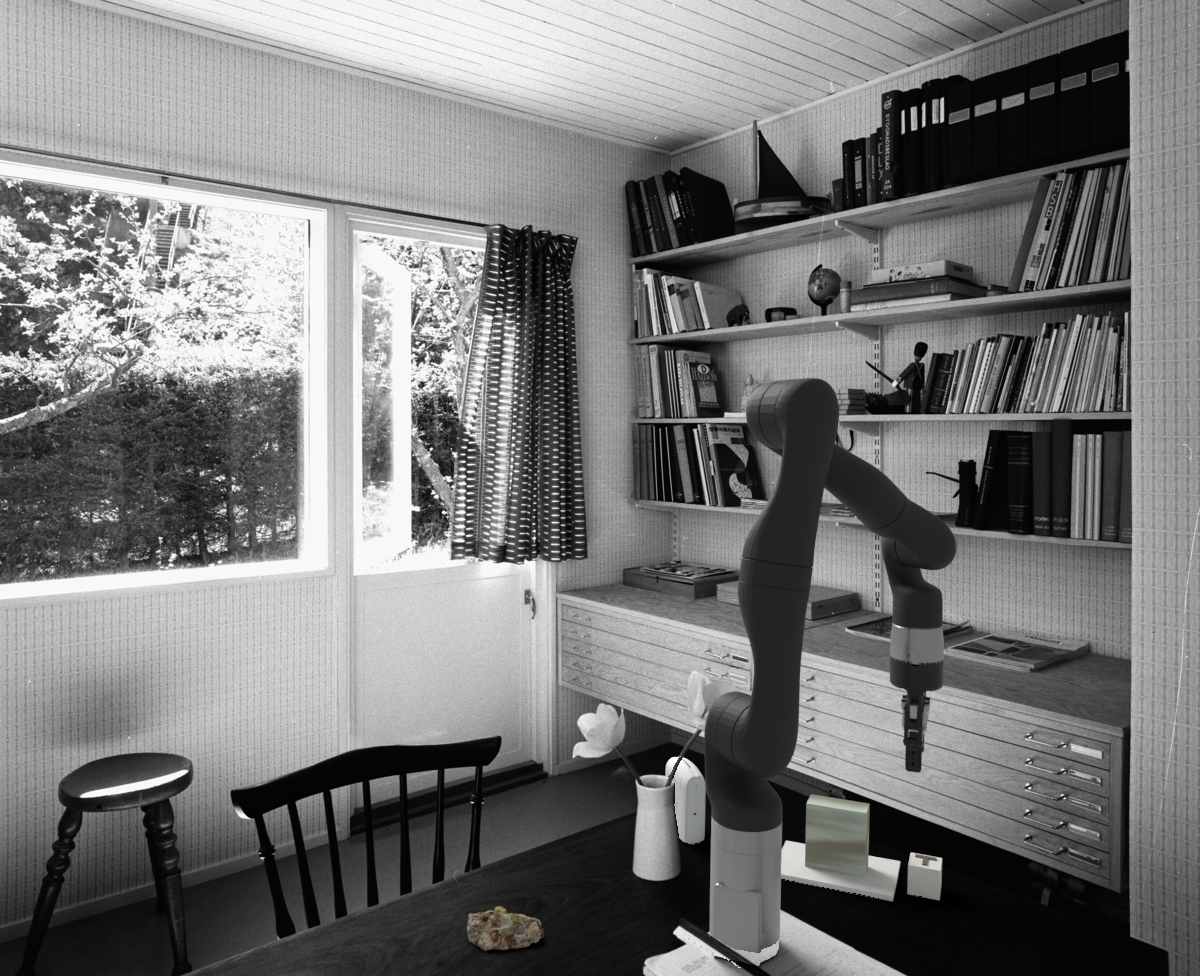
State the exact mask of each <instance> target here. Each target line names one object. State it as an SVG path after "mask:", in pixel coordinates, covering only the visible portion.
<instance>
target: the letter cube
mask: <svg viewBox="0 0 1200 976" xmlns="http://www.w3.org/2000/svg"><path fill="white" fill-rule="evenodd" d="M942 874H943V857H938V856H932V855H927V854H921V853H916V852H910V854H909V860H908V864H907V892H906V894H907V895H909V896H914V895H915V896H914V897H919V896H922V897H921V898H926V899H930V900H936V901H941V900H940V899H941V892H942Z"/></svg>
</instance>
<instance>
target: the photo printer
mask: <svg viewBox="0 0 1200 976" xmlns="http://www.w3.org/2000/svg"><path fill="white" fill-rule="evenodd" d="M679 757H680V756H677V757H676V756H673V757H670V759H668V761H667V762H666V765H665V778H666V777H668V776H669V775H670V774H671V772H672V770H673V767H674V765H675V763H676V762H677V760H678V758H679ZM682 757H683V756H682ZM673 780H674V783H675V804H674V806H675V814H676V820H677V826H678V833H679V837H678V838H679V839H680V840H681V841H682V842H684V843H686V844H687V843H688V844H689V845H696V844H695V843H698V844H700V843H702V842H701V841H704V840H705V836H706V835H705V834H706V833H705V832H706V829H705V827H706V794H707V791H706V782H705V777H704V776H703V774H702V773H701V771H700V770H699V768H698V767H697V766H696V765H695V764H694V762H693V761H690V760H689V759H688V758H685V757H683V758H682V760H681V761H680V763H679V765H678V767H677V770H676V772H675V775H674V778H673ZM699 842H700V843H699ZM688 844H687V845H688Z"/></svg>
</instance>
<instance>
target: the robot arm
mask: <svg viewBox="0 0 1200 976" xmlns="http://www.w3.org/2000/svg"><path fill="white" fill-rule="evenodd" d="M839 405H840V403H839V400H838V396H837V394H836V392H835V390H834V388H833V386H832V385H831V384H830V383H829V382H827V381H826V380H824V379H821V378H818V377H817V378H815V377H813V378H812V377H811V378H810V377H808V378H807V377H806V378H805V377H804V378H794V379H783V380H782V379H780V380H774V381H771V382H766V383H764V384H761V385H760V386H758V387H756V389H754V391H753V392H752V393H751V394H750V396H749V398H748V401H747V403H746V409H745V418H746V424H747V427H748V429H749V431H750V432H751V434H752V436H753V437H754V438H755V439H756V440H757V441H758V442H759V443H760V444H761V445H763V446H764V447H765V448H768V449H769V450H770V451H772V452H773V453H775V454H777V455H778V456H780V457H781V461H780V462H781V463H780V467H779V472H778V473H779V474H778V478H777V481H776V485H775V486H774V490H773V492H772V493H771V496H770V497H769V499H768V501H767V503H766V504H765V506H764V507H763V509H762V510H761V511H760V514H759V515H758V517H756V518H757V519H755V521H754V523H753V525H752V526H751V529H750V530H749V533H748V534H747V537H746V538H745V541H744V545H743V548H742V553H741V554H742V555H741V560H740V567H739V568H740V569H739V574H738V575H739V576H738V583H737V584H738V585H737V599H738V600H737V601H738V605H739V610H740V614H741V618H742V621H743V624H744V627H745V631H746V634H747V638H748V641H749V644H750V649H751V652H752V659H753V661H752V662H753V678H752V679H753V681H752V688H751V689H752V690H751V694H748V693H746V692H743V691H742V692H741V691H734V690H733V691H729V692H726V693H723V694H721V695H720V696H719V697H717V699H715V701H714V702H713V704H712V706H710V708H709V710H708V711H709V712H708V714H707V716H706V720H705V726H704V734H703V741H704V742H703V743H704V744H703V745H704V747H703V748H704V776H705V777H704V781H705V785H706V794H707V797H708V799H709V802H710V806H711V814H710V815H711V822H710V823H711V829H710V830H711V832H710V834H711V835H710V873H709V874H710V876H709V877H710V879H709V880H710V881H709V882H710V884H709V885H710V886H709V935H710V934H711V935H712V936H713V937H714V938H716V939H718V940H720V941H721V942H723V943H724V944H726V945H728V946H730V947H731V948H734V949H735V950H737V949H738V950H744V951H748V952H755V953H760V952H761V950H762V949H764V948H767V947H770V946H772V945H773V944H776V942H777V941H778V940H779V938H780V939H781V898H782V897H781V895H782V894H781V892H782V890H781V889H782V879H781V854H782V848H783V846H782V843H783V802H782V799H781V797H780V796H779V794H778V792H777V791H776V790H775V789H774V788H773V786H772V785H771V784H770V783H769V782H768V780H767V779H771V778H775V777H777V776H778V775H780V774H782V773H783V771H785V770H786V769H787V767H789V766H788V765H790V763H791V761H792V758H793V757H794V753H795V751H796V746H797V742H798V736H799V723H800V721H799V720H800V717H799V716H800V696H801V695H800V694H801V693H800V691H801V689H800V685H801V667H802V666H801V665H802V655H803V646H804V645H803V644H804V633H805V625H806V624H805V623H806V619H807V618H806V616H807V611H808V604H809V599H810V598H809V597H810V592H811V586H812V579H813V578H812V577H813V570H814V568H813V567H814V560H815V549H816V541H817V535H818V534H817V533H818V528H819V520H820V516H821V515H820V514H821V508H822V502H823V497H824V491H825V490H826V491H827V492H829V493H830V494H831V495H832V496H833V497H834V498H835V499H837V500H838V501H839V502H840V503H841V504H842V505H844V507H845V508H847V510H849V511H850V512H851V513H852V515H854V516H855V518H856V519H858V520H859V521H860V522H861V523H862V524H863V525H864V526H865V527H866V528H867V529H868V531H870V532H872V533H873V534H875V535H877V536H878V537H881V538H882V541H881V554H882V559H883V564H884V567H885V571H886V575H887V579H888V584H889V587H890V591H891V594H892V619H891V620H892V621H891V622H892V623H891V632H890V639H889V640H890V642H889V643H890V645H889V646H890V648H889V651H890V652H889V657H890V658H889V682H890V684H891V685H892V686H894V687H895V688H897V689H903V690H905V691H906V694H902V698H901V703H900V709H901V710H900V711H901V712H902V718H901V728H902V730H903V738H902V743H903V746H905V758H904V761H905V763H904V765H905V767H904V769H905V770H906V772H911V773H920V772H921V771H922V762H923V761H922V758H923V756H922V755H923V753H924V751H925V733H927V730H928V720H929V715H930V708H931V697H930V696H927V692H934V691H935V692H936V691H938V690H940V689H942V688H943V686H944V660H945V659H944V657H945V653H944V651H945V639H944V632H943V620H944V619H943V617H944V615H943V613H944V608H943V606H944V605H943V604H944V603H943V602H944V601H943V600H944V599H943V592H942V591H941V589H940V588H938V587H937V586H936V585H934V584H931V583H929V582H928V581H927V580H925V578H924V576H923V574H922V571H921V570H927V571H939V570H943V569H945V568H946V567H948V566H949V565H951V563H952V562H953V561H954V559H955V557H956V554H957V549H958V548H957V541H956V540H957V539H956V538H955V535H954V533H953V531H952V530H951V528H950V527H949V526H948V525H947V523H946V522H944V520H942V519H941V518H939V517H938V516H936V515H934V513H932V512H930V511H929V510H928V509H926V508H924V507H922V506H921V505H919V504H918V503H916V502H914V501H913V500H911V499H909V498H908V497H907V496H906V494H904V492H903V491H902V490H901V489H900V488H899V487H898V485H896V484H895V483H894V482H893V481H892V479H890V478H889V477H888V476H887V475H886V474H885V473H884V472H882V471H881V470H880V469H879V468H877V467H876V466H875V465H873V464H872V463H870V462H868V461H866V460H864V459H863V458H861V457H859V456H857V455H856V454H854V453H852V452H850V451H848V450H847V449H845V448H843V447H842V446H840V445H839V444H837V443H836V439H837V436H838V430H839V423H840V422H839V421H840V406H839Z"/></svg>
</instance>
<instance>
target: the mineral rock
mask: <svg viewBox="0 0 1200 976" xmlns="http://www.w3.org/2000/svg"><path fill="white" fill-rule="evenodd" d="M467 919H468V920H467V921H468V922H466V933H467V940H468V941H469V942H471V943H472V944H473V945H475V946H477V947H479V948H480V949H481V950H483V951H485V952H487V951H489V950H492V951H494V950H497V951H498V950H499V951H505V950H512V949H520V948H521V949H522V948H523V949H525V948H527V947H529V946H530V945H532V944H537V943H538V942H539V941H540V940H542V939H543V938H544V937H545V933H544V928H543V927H542V922H541V921H540V919H538V918H536V917H530V916H527V915H526V914H523V913H513V912H510V913H509V912H508V911H507V909H506V908H504V907H503V906H501V905H500V906H495V907H494V910H489V909H488V910H487V911H484V912H483V911H482V912H480V911H479V912H477V913H469V914H468V918H467Z"/></svg>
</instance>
